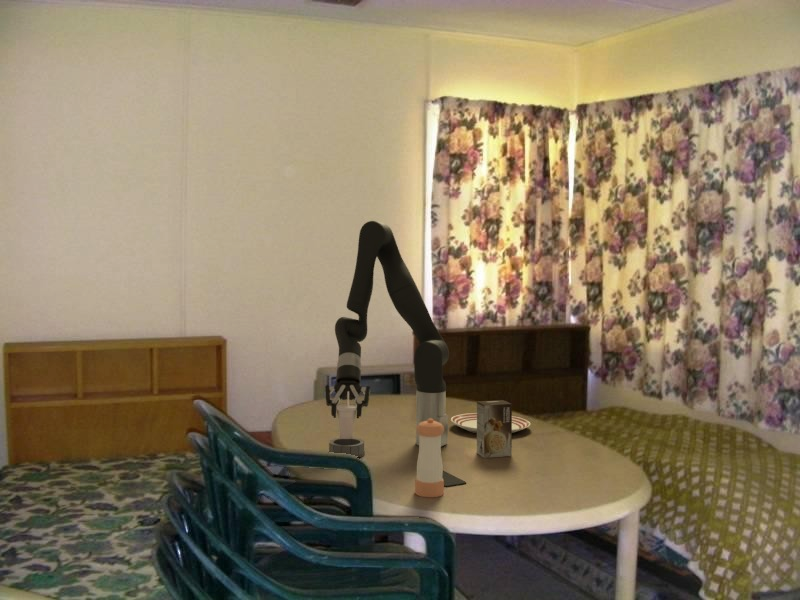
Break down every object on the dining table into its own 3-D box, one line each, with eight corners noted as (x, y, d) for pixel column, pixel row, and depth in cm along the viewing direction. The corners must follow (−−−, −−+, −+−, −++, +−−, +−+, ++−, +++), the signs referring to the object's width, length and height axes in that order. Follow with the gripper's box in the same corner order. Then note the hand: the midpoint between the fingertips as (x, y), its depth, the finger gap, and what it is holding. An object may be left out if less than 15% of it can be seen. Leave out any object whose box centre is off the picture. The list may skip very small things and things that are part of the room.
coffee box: (503, 451, 241) (504, 399, 240) (512, 456, 235) (513, 403, 234) (475, 452, 238) (476, 400, 237) (483, 458, 232) (484, 405, 231)
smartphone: (444, 486, 203) (415, 470, 216) (444, 490, 203) (415, 474, 216) (468, 482, 207) (437, 467, 220) (468, 485, 207) (437, 470, 220)
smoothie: (348, 441, 230) (349, 394, 229) (331, 438, 234) (331, 391, 233) (361, 436, 236) (361, 391, 235) (343, 433, 239) (344, 388, 238)
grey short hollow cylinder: (371, 452, 237) (371, 440, 237) (352, 461, 227) (352, 448, 227) (341, 447, 242) (341, 435, 242) (321, 455, 233) (321, 443, 232)
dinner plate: (494, 417, 289) (495, 408, 289) (547, 432, 266) (547, 423, 266) (434, 426, 274) (434, 416, 274) (484, 443, 251) (484, 432, 251)
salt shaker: (449, 493, 199) (450, 418, 198) (430, 499, 194) (431, 423, 192) (428, 486, 204) (429, 414, 203) (409, 492, 199) (410, 418, 198)
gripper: (325, 363, 240) (321, 409, 229) (371, 364, 241) (370, 410, 230) (326, 377, 246) (322, 423, 235) (371, 378, 246) (370, 423, 235)
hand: (346, 416), depth 232 cm, fingers closed on smoothie, 6 cm apart
